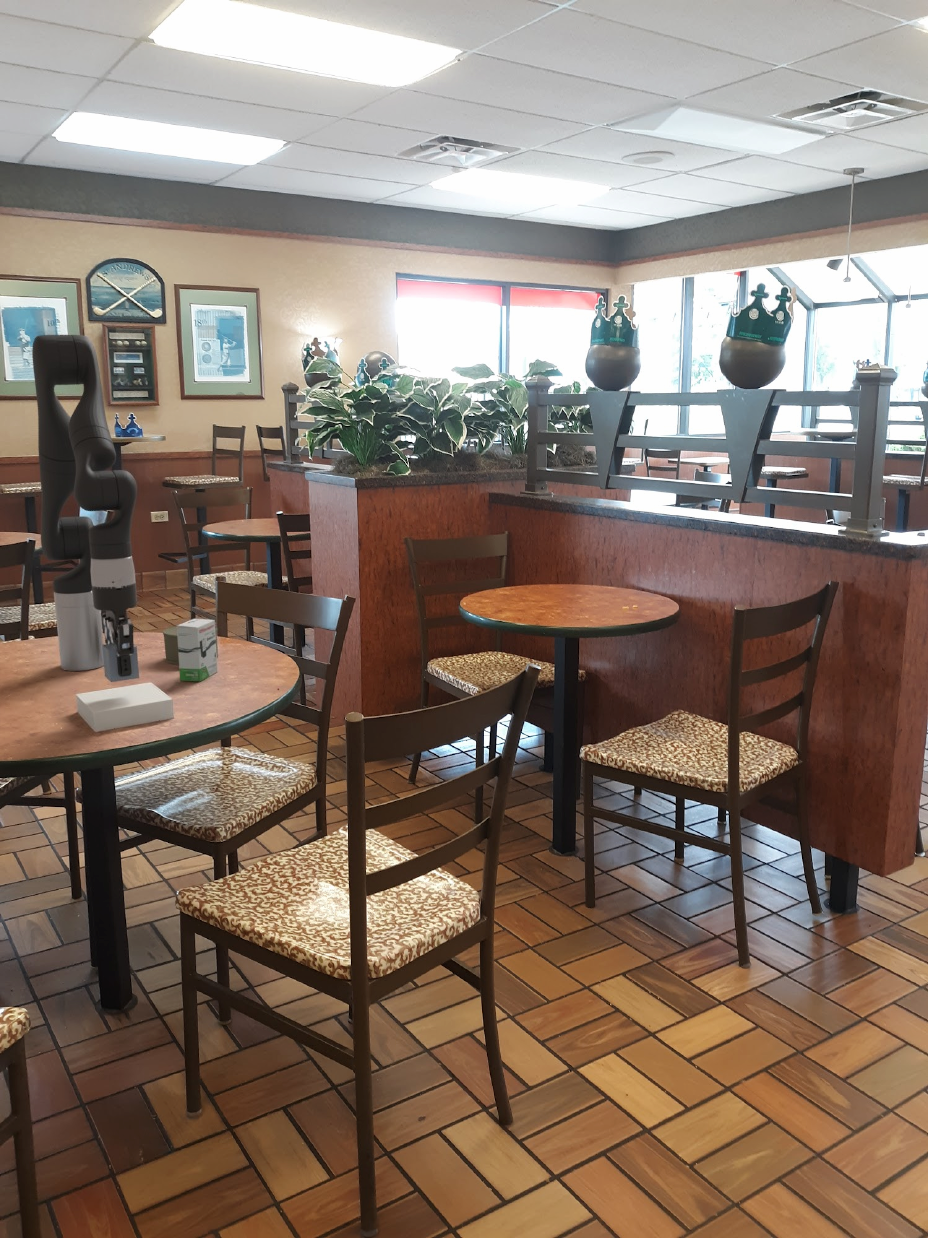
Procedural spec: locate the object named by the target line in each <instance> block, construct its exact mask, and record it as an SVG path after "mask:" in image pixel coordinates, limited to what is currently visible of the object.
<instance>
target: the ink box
mask: <svg viewBox="0 0 928 1238" xmlns="http://www.w3.org/2000/svg"><path fill="white" fill-rule="evenodd" d="M176 626H177V638H178V654H179V665H178V668H179V669H178V670H179V671H178V672H179V680H180V682H181V681H183V682H202V681H204V680H206V679H207V678H209V677H211V676H213V675H214V674H216V673H218V658H217V652H216V634H215V626H216V621H215V619H208V618H207V619H206V618H192V619H189V620H188V621H185V622H183V623H180V624H177V625H176Z"/></svg>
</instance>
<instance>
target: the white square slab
mask: <svg viewBox="0 0 928 1238" xmlns="http://www.w3.org/2000/svg"><path fill="white" fill-rule="evenodd" d="M75 698H76V701H75V702H76V710H77V713H78V715H80V717H81V718H82V719H83V720H84V721H85V722H86V724H87V725H88V726H89V727H90V728H91V729H92V730H93V732H95V733H98V732H103V731H109V730H114V728H115V729H119V728H125V727H130V726H131V727H132V726H137V725H143V724H147V723H152V722H159V720H160V721H165V720H170V719H174V718H175V713H174V701H173V698H172V697H170V696H169V695H168V694H166V693H165V692H164V691H162V690H161V689H160V688H159V687H158V686H156V685H155V684H154V683H152V682H151V681H150V682H144V683H139V684H138V683H137V684H132V685H125V686H119V687H113V688H108V689H107V688H106V689H101V690H95V691H93V690H92V691H88V692H81V693H76V694H75Z"/></svg>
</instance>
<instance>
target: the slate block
mask: <svg viewBox="0 0 928 1238" xmlns="http://www.w3.org/2000/svg"><path fill="white" fill-rule="evenodd" d="M122 648H127V647H126V644H123V645H122ZM102 649H103V661H104V665H103V671H104V677H105V678H106V680H108V681H109V682H110V683H115V682H122V681H129V680H130V681H131V680H135V679H140V669H139V660H138V659H139V658H138V648H137V646H136V645H135V644H134V654H131V655H130V659H131V671H132V674H131V675H130V676H124V677H121V676H119V674H118V663H117V655H116V649H115V645H113V644H106V643H104V645H102Z"/></svg>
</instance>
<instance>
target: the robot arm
mask: <svg viewBox="0 0 928 1238" xmlns="http://www.w3.org/2000/svg"><path fill="white" fill-rule="evenodd" d="M31 347H32V349H31V352H32V354H31V355H32V367H33V368H32V369H33V376H34V386H35V395H36V405H37V420H38V422H37V425H38V426H37V427H38V428H37V429H38V433H37V434H38V435H37V436H38V439H37V440H38V441H37V443H38V444H37V445H38V447H37V449H38V450H37V451H38V464H39V474H40V475H39V477H40V478H39V479H40V488H41V489H40V490H41V508H40V509H41V512H40V545H41V550H42V553H43V555H44V557H45V559H47V560H49V561H71V560H79V563H78V564H77V566H75V567H74V568H73V569H70V570H69V571H68V572H66V573H63V574H60V575H59V576H55V577H54V579H53V581H52V589H53V598H54V608H55V609H54V610H55V617H56V618H55V619H56V626H57V627H56V628H57V637H58V648H59V659H60V668H61V669H62V670H64V671H69V672H70V671H72V672H73V671H74V672H77V671H88V670H93V669H98V668H101V667H104V661H103V649H102V645H105V644H113V645H115V649H116V655H117V663H118V674H119V676H121V677H124V676H130V675H131V674H132V671H131V659H130V655H131V654H134V645H135V644H134V628H135V627H134V624H133V622H132V623H131V617H128V613H127V610H128V609H133V608H135V607H136V606H138V594H137V583H136V571H135V564H134V561H133V560H134V559H133V556H132V555H133V551H132V541H131V540H132V538H131V529H132V521H133V515H134V512H135V511H134V510H135V507H136V501H137V496H138V484H137V480H136V479H135V477H134V476H133V474H132V473H130V472H129V471H127V470H126V469H125V470H124V469H118V470H117V469H115V470H109V469H111V468H112V467H113V466H114V465H115V463H116V460H117V453H116V449H115V446H114V441H113V439H112V436H111V432H110V429H109V425H108V420H107V416H106V409H105V402H104V400H105V399H104V393H103V387H102V381H101V375H100V374H101V373H100V368H99V361H98V357H97V353H96V349H95V346H94V344H93V342H92V340H91V339H90V338H89V337H88V336H86V335H82V334H41V335H40V334H39V335H37V336H35V338H34V339H33V342H32V346H31ZM71 385H73V386H74V385H76V386H78V385H79V386H80V385H83V392H82V395H81V397H80V399H79V401H78V403H77V405H76V407H75V408H74V410H73V412H72V414H71V415H69V413H68V412H67V411H66V410H65V408H64V407H63V405H62V403H61V402H60V400H59V398H58V397H57V395H56V393H55V387H56V386H71ZM73 495H74V496H73ZM71 496H73V497H74V500H75V502H76V504H77V505H78V506H79V507H80V508H81V509H82V510H84V511H86V512H102V511H103V512H104V511H115V513H114V515H113V517H112V518H111V519H110V520H108V521H106V522H103V523H98V524H95V525H94V522H93V521H92V519H91V518H90V517H89V516H85V515H84V516H67V517H66V516H65V517H60V515H61V513H62V511H63V508H64V506H65V504H66V503H67V502H68V500H69V499H70V497H71ZM101 611H102V612H103V611H105V612H103V613H102V612H101ZM103 633H104V634H103ZM104 639H105V640H104ZM123 644H126V647H127V648H122V645H123Z"/></svg>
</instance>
